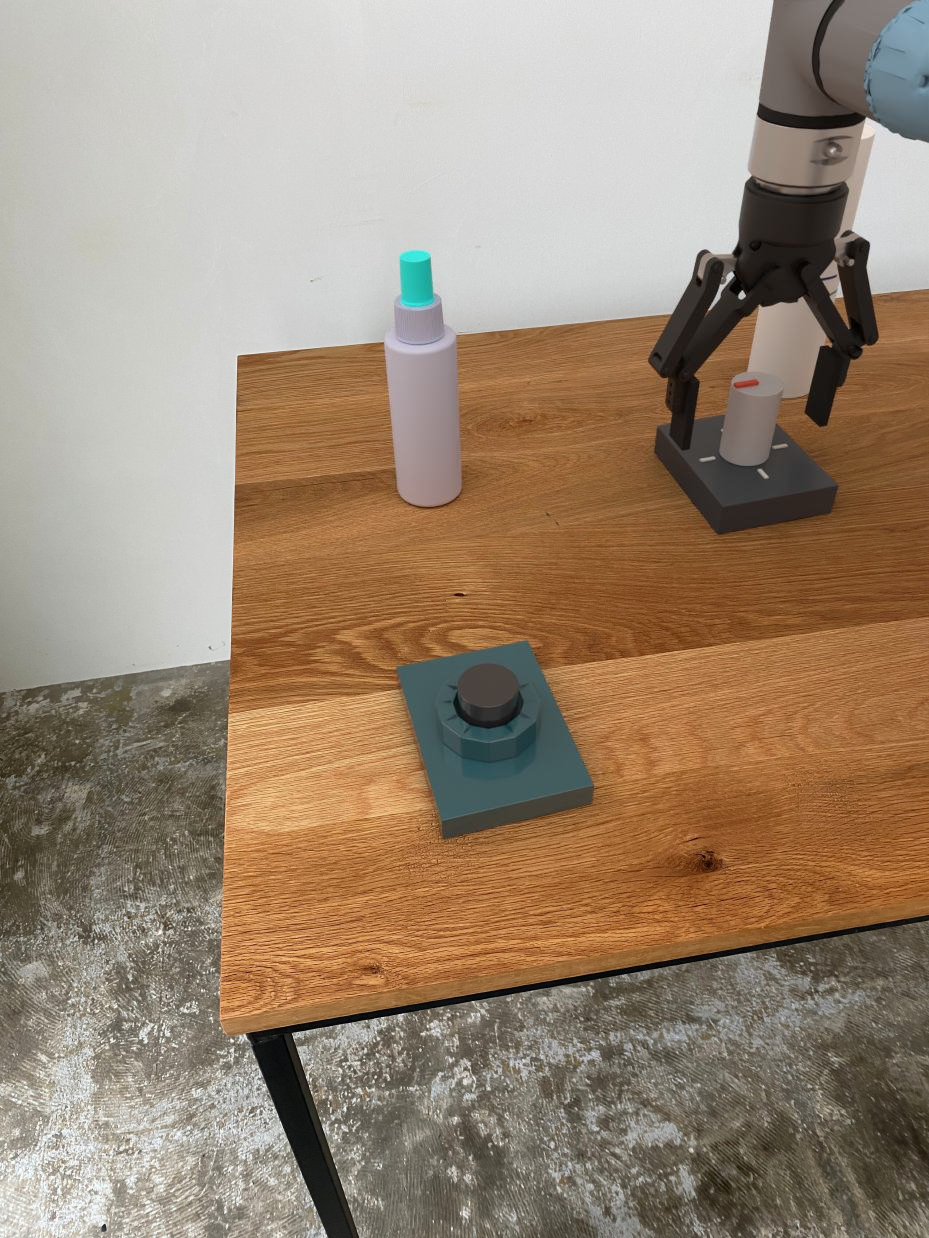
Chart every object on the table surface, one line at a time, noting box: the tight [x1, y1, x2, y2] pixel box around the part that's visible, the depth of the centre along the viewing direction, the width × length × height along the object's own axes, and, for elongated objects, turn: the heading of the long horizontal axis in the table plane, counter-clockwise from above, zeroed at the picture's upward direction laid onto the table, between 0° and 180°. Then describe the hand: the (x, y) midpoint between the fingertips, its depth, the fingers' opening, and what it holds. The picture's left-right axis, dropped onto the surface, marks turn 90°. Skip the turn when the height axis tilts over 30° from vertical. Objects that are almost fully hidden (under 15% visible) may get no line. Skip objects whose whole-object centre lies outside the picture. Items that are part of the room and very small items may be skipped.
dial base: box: [653, 413, 840, 535], centre depth 86 cm, size 14×11×3 cm
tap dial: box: [719, 371, 784, 466], centre depth 83 cm, size 4×4×7 cm
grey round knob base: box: [395, 639, 595, 840], centre depth 63 cm, size 14×10×4 cm
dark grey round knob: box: [457, 663, 518, 728], centre depth 62 cm, size 4×4×2 cm
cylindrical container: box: [746, 123, 876, 399], centre depth 93 cm, size 7×7×25 cm
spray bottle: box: [383, 249, 463, 508], centre depth 80 cm, size 6×6×22 cm
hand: (748, 431), depth 84 cm, fingers open, 13 cm apart
